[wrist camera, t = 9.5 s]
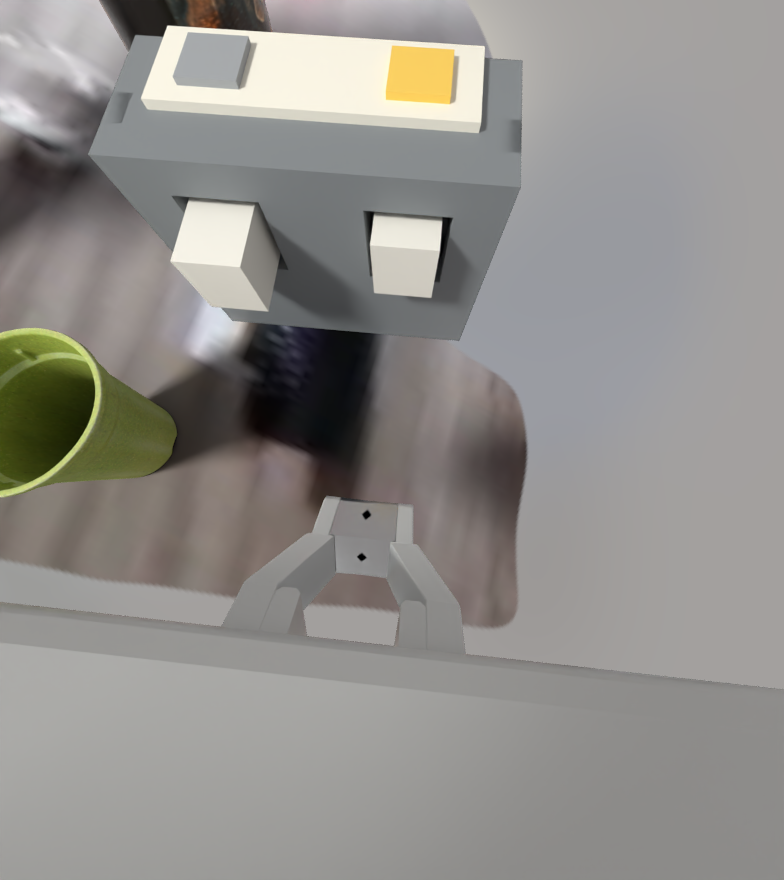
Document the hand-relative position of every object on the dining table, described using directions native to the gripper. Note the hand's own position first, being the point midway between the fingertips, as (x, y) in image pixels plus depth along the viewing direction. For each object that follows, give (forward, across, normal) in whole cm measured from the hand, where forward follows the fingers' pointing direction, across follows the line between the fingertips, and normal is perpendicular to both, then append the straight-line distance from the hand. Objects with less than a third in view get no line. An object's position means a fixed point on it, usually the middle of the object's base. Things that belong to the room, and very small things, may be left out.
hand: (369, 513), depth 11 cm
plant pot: (+12, +20, +7) cm, 24 cm away
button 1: (+14, +10, -6) cm, 18 cm away
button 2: (+15, 0, -7) cm, 17 cm away
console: (+23, +5, -4) cm, 23 cm away
